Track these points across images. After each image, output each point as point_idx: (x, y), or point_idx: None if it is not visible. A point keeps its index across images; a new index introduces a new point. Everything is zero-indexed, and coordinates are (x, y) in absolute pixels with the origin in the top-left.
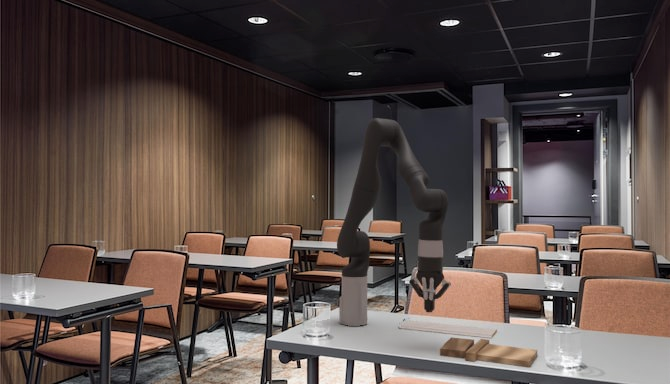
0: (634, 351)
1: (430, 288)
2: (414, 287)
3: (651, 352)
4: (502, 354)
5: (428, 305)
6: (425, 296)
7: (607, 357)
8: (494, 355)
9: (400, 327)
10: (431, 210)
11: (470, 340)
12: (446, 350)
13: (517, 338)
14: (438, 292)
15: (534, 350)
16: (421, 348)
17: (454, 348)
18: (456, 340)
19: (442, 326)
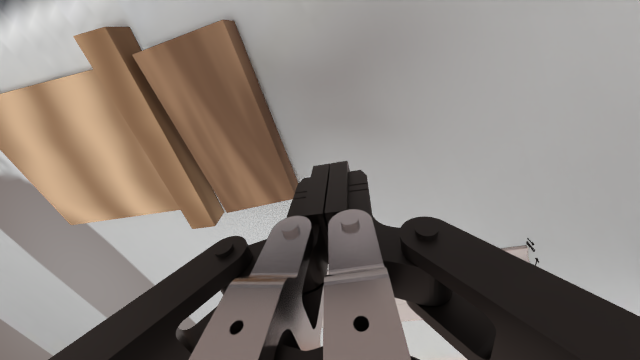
0: (39, 319)
1: (250, 329)
2: (593, 319)
3: (25, 325)
4: (63, 126)
5: (325, 186)
6: (351, 231)
7: (17, 273)
8: (61, 97)
9: (525, 251)
10: None
11: (227, 198)
12: (199, 29)
13: (217, 303)
14: (179, 298)
15: (68, 217)
16: (347, 68)
17: (185, 65)
18: (258, 174)
19: (402, 302)
